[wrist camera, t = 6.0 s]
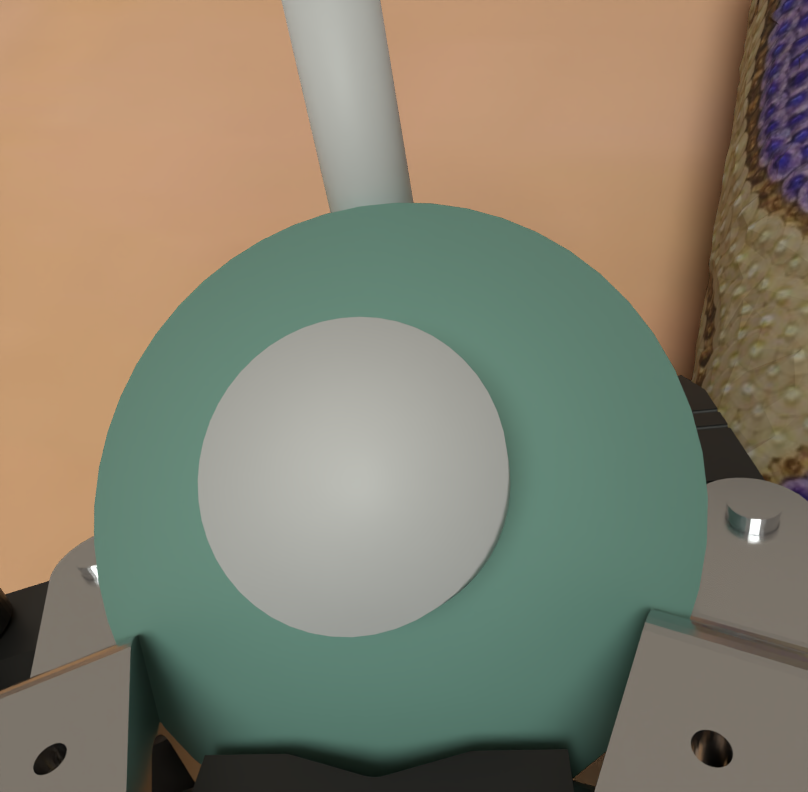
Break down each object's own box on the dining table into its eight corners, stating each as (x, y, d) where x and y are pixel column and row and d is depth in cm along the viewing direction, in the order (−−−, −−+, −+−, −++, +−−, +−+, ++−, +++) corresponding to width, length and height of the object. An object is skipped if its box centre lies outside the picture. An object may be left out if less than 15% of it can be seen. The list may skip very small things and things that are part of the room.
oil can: (606, 649, 14) (920, 1003, 3) (354, 659, 15) (-124, 956, 4) (557, 296, 17) (633, -254, 5) (341, 324, 18) (13, -92, 6)
